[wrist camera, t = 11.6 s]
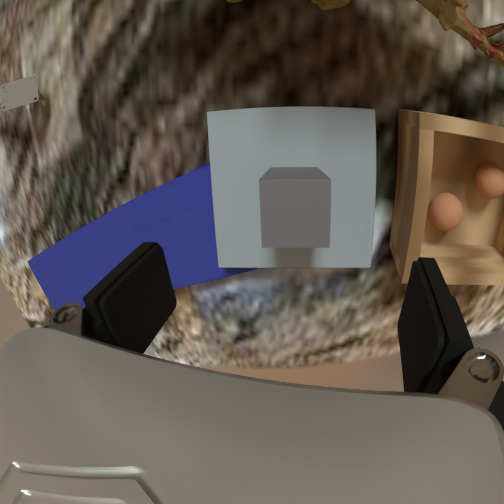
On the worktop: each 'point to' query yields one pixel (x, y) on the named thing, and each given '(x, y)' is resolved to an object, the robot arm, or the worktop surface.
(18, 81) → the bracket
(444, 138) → the pine box
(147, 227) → the long blue plank
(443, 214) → the rust ball
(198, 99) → the worktop surface
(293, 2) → the worktop surface
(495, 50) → the toy
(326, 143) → the lid
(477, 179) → the rust ball
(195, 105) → the worktop surface
